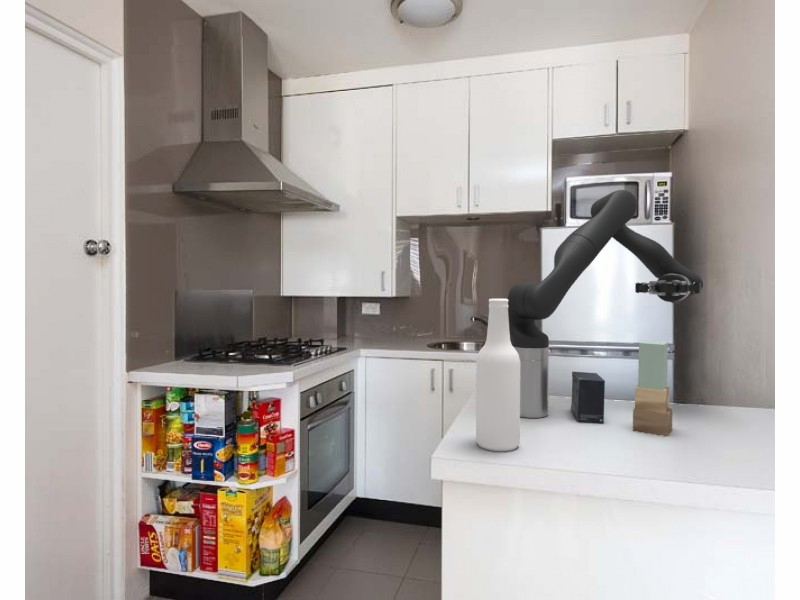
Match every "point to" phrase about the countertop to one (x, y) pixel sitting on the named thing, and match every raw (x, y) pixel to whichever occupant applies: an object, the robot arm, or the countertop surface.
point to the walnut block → (653, 422)
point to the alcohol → (498, 384)
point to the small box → (588, 397)
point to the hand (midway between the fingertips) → (663, 288)
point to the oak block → (652, 399)
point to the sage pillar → (653, 365)
